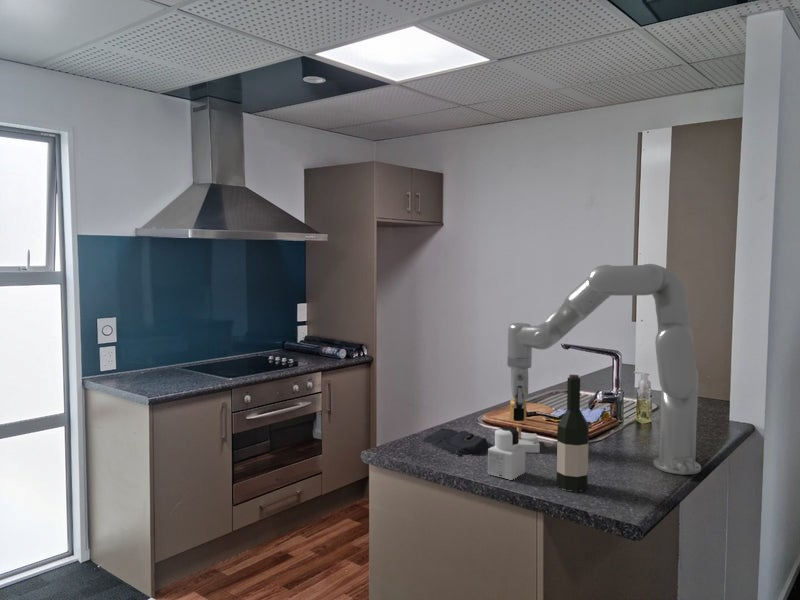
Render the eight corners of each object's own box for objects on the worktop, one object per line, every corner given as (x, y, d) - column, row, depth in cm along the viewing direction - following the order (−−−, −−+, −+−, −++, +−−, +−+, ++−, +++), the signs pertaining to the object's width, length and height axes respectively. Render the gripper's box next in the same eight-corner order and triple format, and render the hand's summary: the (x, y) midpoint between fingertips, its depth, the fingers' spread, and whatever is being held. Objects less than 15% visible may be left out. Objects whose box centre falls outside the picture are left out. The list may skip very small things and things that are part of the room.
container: (501, 467, 181) (501, 423, 180) (525, 473, 176) (525, 428, 175) (487, 475, 175) (487, 430, 174) (511, 481, 170) (512, 435, 169)
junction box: (539, 452, 194) (539, 434, 193) (500, 451, 195) (500, 432, 195) (534, 435, 212) (534, 418, 212) (498, 434, 214) (498, 417, 213)
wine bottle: (582, 480, 171) (584, 372, 168) (592, 492, 162) (595, 378, 160) (552, 480, 170) (553, 372, 168) (561, 492, 162) (562, 378, 160)
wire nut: (526, 421, 197) (526, 400, 196) (510, 421, 198) (510, 399, 197) (525, 417, 202) (525, 396, 201) (509, 416, 203) (510, 395, 202)
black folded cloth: (453, 434, 216) (453, 420, 215) (498, 450, 198) (498, 435, 198) (418, 442, 207) (418, 428, 207) (462, 460, 189) (462, 444, 189)
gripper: (533, 367, 189) (532, 426, 191) (529, 357, 206) (527, 411, 208) (508, 366, 190) (507, 425, 192) (506, 357, 207) (505, 410, 209)
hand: (518, 417), depth 200 cm, fingers closed on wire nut, 5 cm apart
